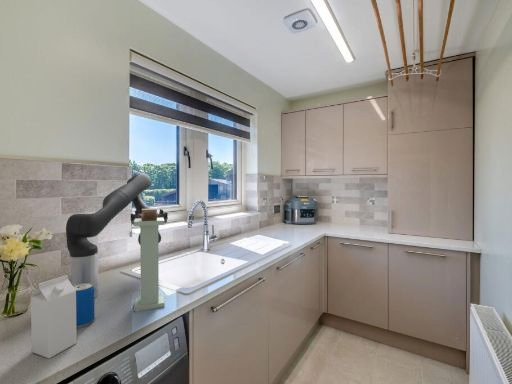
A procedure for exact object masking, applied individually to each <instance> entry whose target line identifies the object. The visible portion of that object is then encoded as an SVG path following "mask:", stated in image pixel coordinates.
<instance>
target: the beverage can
mask: <svg viewBox="0 0 512 384" xmlns="http://www.w3.org/2000/svg"><path fill="white" fill-rule="evenodd" d="M74 289H75V290H76V328H83V327H86V326H88V325H90V324H91V323H92V322H93V321H94V320H95V314H96V313H95V312H96V310H95V298H94V287H93V284H91V283H83V284H79V285H76V286H74Z"/></svg>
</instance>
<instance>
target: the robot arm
mask: <svg viewBox="0 0 512 384" xmlns="http://www.w3.org/2000/svg"><path fill="white" fill-rule="evenodd" d="M151 184H152V179H151V177H150V176H149V175H148V174H146V173H144V172H140V173H137V174H135V175H134V176H132V177H130V178H129V179H127V181H126V184H123V185H122V186H120V187H118V188H116V189H114V190H113V191H111V192H110V193H108V194H107V195H106V196H105V197H104V199H103V200H102V208H100V209H99V210H98V211H97V210H96V212H93V213H73V214H71V215H70V216H69V217H68V219H67V221H66V225H65V237H66V248H67V250H68V252H69V276H68V280H69V281H70V283H71V284H72V286H73V287H74V286H76V285H79V284H83V283H91V284H93V287H94V299H95V298H96V297H98V296H99V258H98V257H99V256H98V255H99V253H98V252H99V250H98V246H97V245H96V244H94V243H92V242H91V241H90V240H88V238H93V237H96V236H98V235H99V234H101V232H102V231H103V230H104V229H105V228H106V227H107V226H108V225H109V223H110V222H111V221H112V220H113V219H114V218H115V217H116V216H117V215H119V213H121V212H122V211H123V210H124V209H126V208H127V206H129V205H130V204H131V203H133V205H134V209H135V211H134V213H130V222H131V225H133V226H134V220H135V219H140V218H142V209H151V207H149V206H148V204H146V203H145V202H144V200H143V197H142V192H144V191H145V190H148V189H149V188H150V186H151ZM157 218H164V224H166V223H167V222H168V219H169V218H168V212H164V209H162V208H160V209H159V212H157ZM159 228H160V225H158V244H160V243H161V241H162V235H161V233H160V231H159ZM137 241H138V244H139V245H140V233H139V234H138V238H137Z"/></svg>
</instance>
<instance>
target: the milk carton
mask: <svg viewBox="0 0 512 384" xmlns="http://www.w3.org/2000/svg"><path fill="white" fill-rule="evenodd" d="M68 277H69V276H68V274H66V275H63V276H59V277H56V278H53V279H50V280H46V281H43V282H41V283H40V282H39V283H38V288H37V289H36V290H35V291H34V293H33V294H32V295H31V296H30V316H31V317H30V321H31V322H30V323H31V324H30V325H31V326H30V327H31V352H32V353H34V354H36V355H38V356H42V357H43V358H46V359H51V358H53V357H54V356H56V355H57V354H59V353H61V352H63V351H65V350H66V349H68V348H70V347H72V346H74V345H75V344H77V327H76V290H75V289H74V287H73V286H72V284H71V283H70V281H69V280H68Z"/></svg>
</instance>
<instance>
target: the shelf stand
mask: <svg viewBox="0 0 512 384" xmlns="http://www.w3.org/2000/svg"><path fill="white" fill-rule="evenodd" d="M158 225H159V226H161V225H163V226H164V225H165V223H164V218H157V220H156V221H142V218H140V219H135V220H134V225H133V227H139V228H140V229H139V230H140V232H139V234H140V244H139V247H140V248H139V249H140V252H139V253H140V297H135V301H134V308H133V309H134V312H141V311H148V310H152V309H153V310H154V309H159V308H165V307H166V306H165V296H164V295H165V294H164V293H162V294H159V293H160V291H159V287H160V286H159V285H160V283H159V274H160V273H159V243H158V231H159V229H158Z"/></svg>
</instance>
